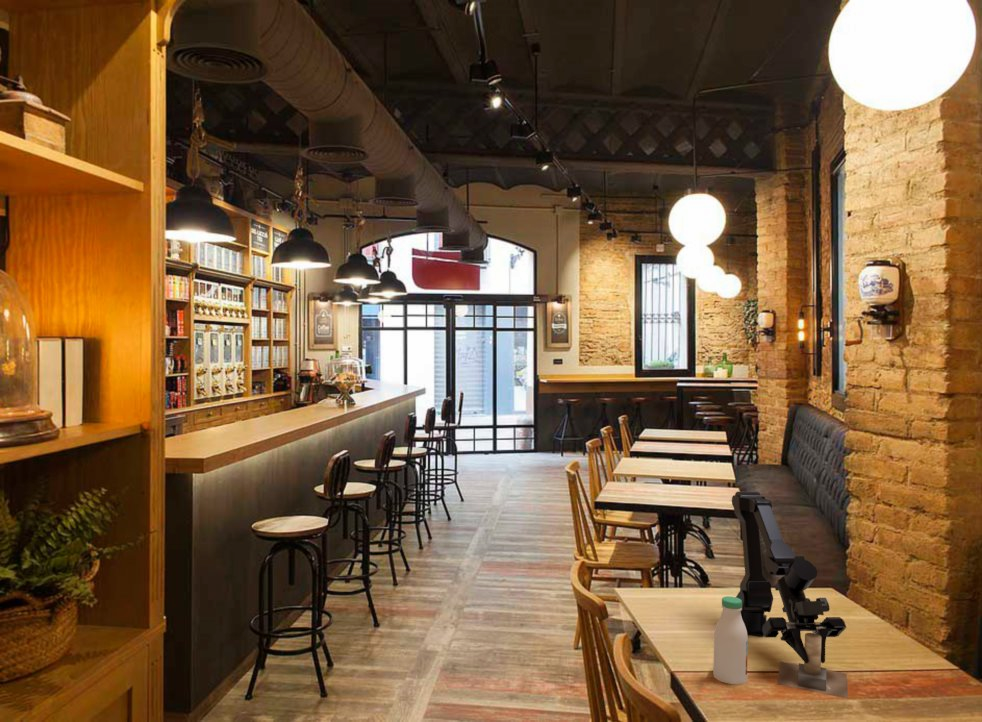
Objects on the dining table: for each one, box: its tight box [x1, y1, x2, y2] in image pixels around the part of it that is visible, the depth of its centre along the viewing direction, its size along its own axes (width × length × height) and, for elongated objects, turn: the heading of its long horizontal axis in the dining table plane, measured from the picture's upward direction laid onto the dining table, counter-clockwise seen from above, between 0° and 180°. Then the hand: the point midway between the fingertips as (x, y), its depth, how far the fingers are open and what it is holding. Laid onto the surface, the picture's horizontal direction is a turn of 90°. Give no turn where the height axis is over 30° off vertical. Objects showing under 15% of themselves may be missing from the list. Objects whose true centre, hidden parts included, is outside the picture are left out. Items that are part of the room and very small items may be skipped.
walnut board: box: [776, 661, 849, 699], centre depth 172 cm, size 15×14×1 cm
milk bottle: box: [712, 596, 749, 685], centre depth 172 cm, size 8×8×20 cm
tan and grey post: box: [798, 632, 827, 691], centre depth 170 cm, size 6×7×11 cm
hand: (815, 662), depth 169 cm, fingers closed on tan and grey post, 4 cm apart
